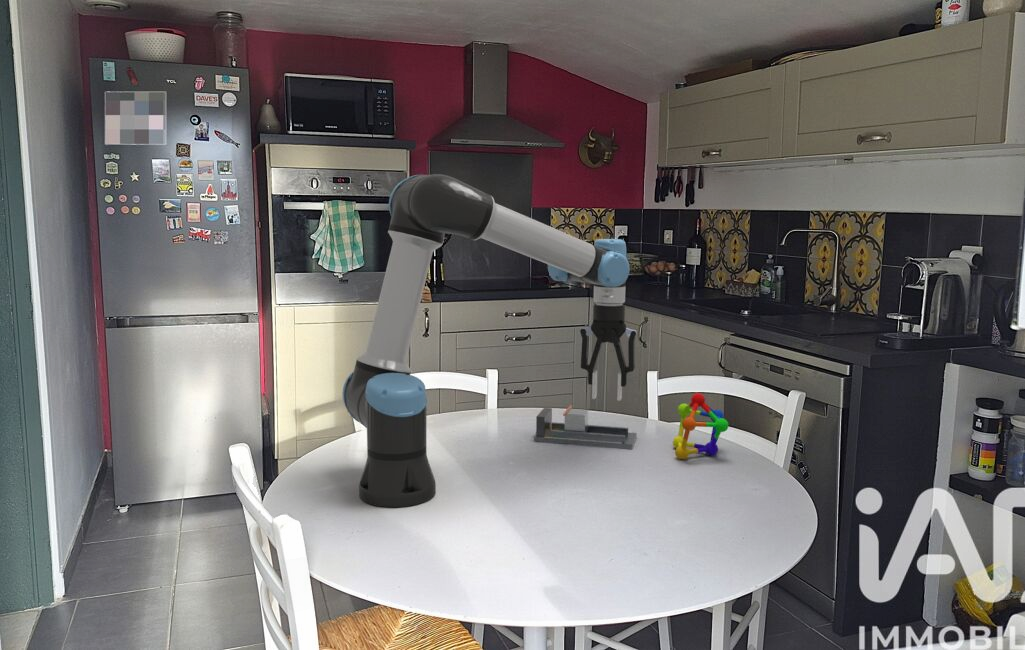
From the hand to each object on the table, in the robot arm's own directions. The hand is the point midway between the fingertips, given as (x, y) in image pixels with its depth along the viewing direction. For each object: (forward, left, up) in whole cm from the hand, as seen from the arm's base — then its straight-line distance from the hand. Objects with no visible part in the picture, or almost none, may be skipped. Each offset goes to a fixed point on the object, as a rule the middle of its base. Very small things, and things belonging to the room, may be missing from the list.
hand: (606, 398), depth 199 cm
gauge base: (-5, 0, -11) cm, 12 cm away
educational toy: (+22, -4, -11) cm, 25 cm away
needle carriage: (-7, 0, -9) cm, 12 cm away
